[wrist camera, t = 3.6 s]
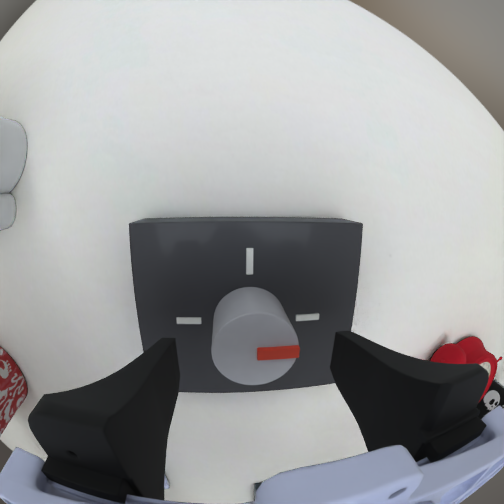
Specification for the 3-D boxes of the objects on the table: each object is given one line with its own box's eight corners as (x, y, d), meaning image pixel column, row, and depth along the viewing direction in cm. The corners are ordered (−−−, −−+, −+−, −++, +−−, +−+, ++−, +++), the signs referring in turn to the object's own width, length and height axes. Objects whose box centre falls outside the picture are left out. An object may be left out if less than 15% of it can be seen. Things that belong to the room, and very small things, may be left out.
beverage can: (458, 416, 26) (500, 461, 14) (479, 381, 24) (529, 424, 13) (480, 407, 26) (519, 445, 15) (498, 374, 25) (543, 410, 14)
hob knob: (215, 350, 16) (213, 390, 12) (212, 286, 15) (208, 316, 11) (282, 347, 16) (296, 386, 12) (285, 285, 15) (304, 313, 11)
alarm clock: (472, 417, 21) (412, 461, 16) (443, 395, 27) (376, 423, 21) (512, 347, 19) (475, 368, 14) (477, 328, 25) (424, 336, 20)
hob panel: (159, 366, 19) (151, 392, 16) (143, 218, 17) (127, 223, 14) (327, 360, 20) (341, 383, 17) (342, 218, 18) (364, 223, 15)
